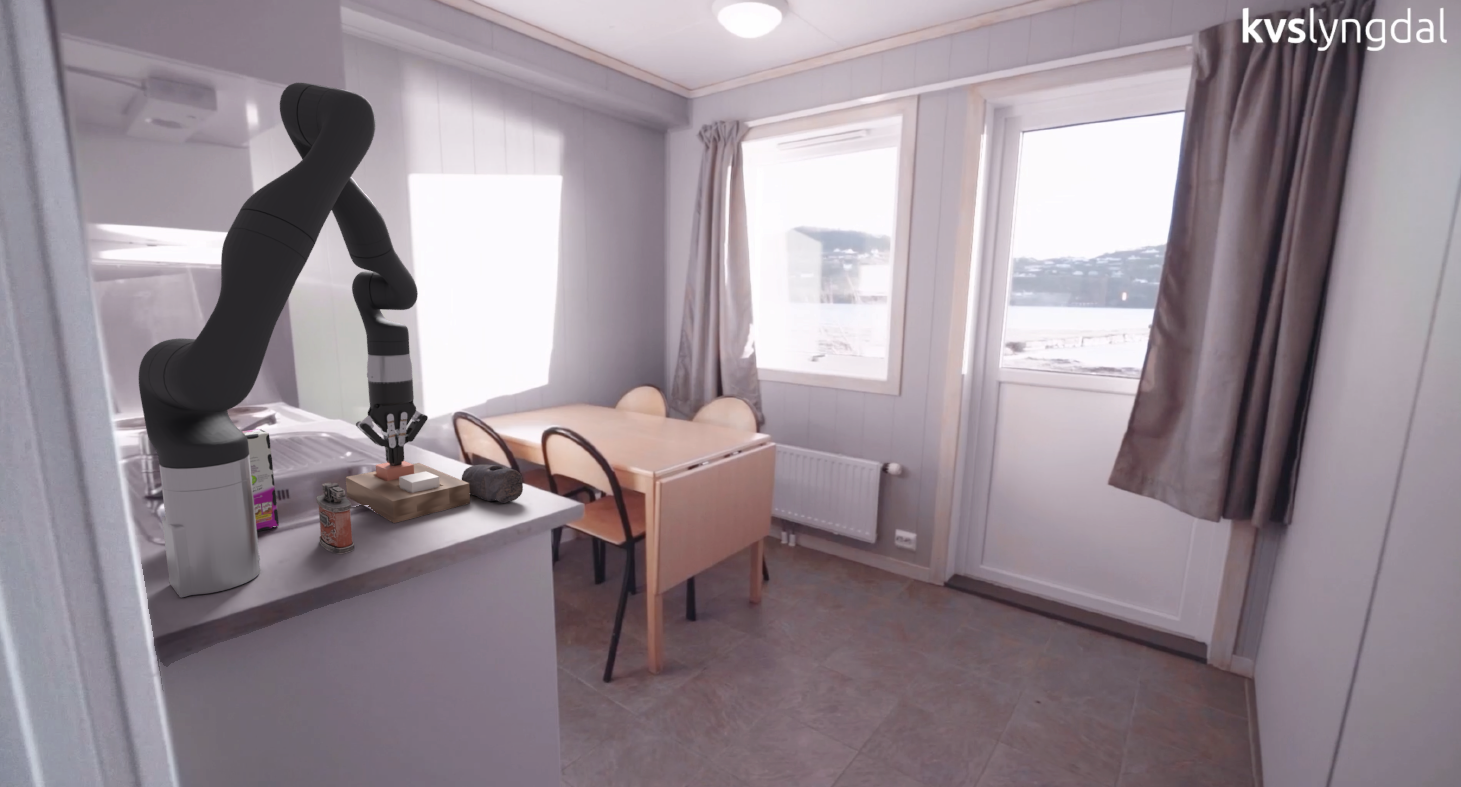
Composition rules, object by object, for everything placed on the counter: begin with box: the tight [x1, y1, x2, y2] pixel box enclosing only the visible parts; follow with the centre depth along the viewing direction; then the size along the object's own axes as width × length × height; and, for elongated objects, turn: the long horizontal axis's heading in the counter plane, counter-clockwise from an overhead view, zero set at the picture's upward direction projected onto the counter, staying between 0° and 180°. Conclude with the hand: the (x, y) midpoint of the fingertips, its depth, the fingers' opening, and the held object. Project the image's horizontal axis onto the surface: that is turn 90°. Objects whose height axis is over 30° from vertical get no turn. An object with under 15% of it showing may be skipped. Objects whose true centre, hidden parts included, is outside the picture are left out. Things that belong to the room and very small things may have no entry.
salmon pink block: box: [375, 460, 414, 481], centre depth 121 cm, size 5×5×4 cm
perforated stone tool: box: [461, 464, 524, 504], centre depth 120 cm, size 15×5×7 cm, turn 60°
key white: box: [399, 471, 440, 493], centre depth 115 cm, size 5×5×4 cm
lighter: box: [315, 482, 355, 555], centre depth 96 cm, size 8×3×10 cm, turn 53°
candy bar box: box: [242, 428, 280, 533], centre depth 99 cm, size 11×5×16 cm, turn 143°
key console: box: [345, 462, 471, 524], centre depth 118 cm, size 14×20×4 cm
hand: (395, 464), depth 120 cm, fingers closed
